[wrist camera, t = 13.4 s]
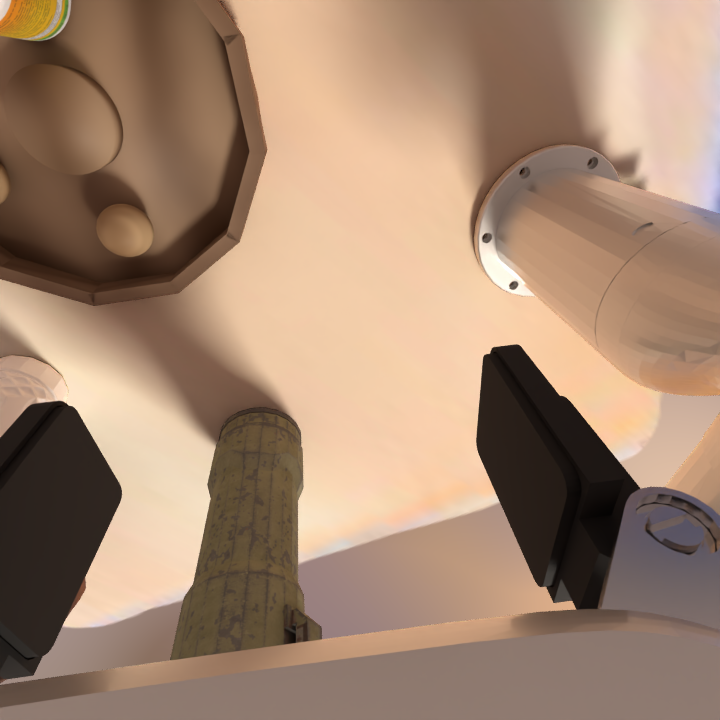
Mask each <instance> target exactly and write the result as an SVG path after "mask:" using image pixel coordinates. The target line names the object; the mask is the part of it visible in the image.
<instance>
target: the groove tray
mask: <svg viewBox="0 0 720 720" xmlns="http://www.w3.org/2000/svg"><path fill="white" fill-rule="evenodd" d="M266 152H267V146H266V141H265V136H264V132H263V127H262V122H261V115H260V109H259V102H258V96H257V92H256V88H255V84H254V80H253V77H252V73H251V69H250V64H249V59H248V54H247V49H246V45H245V40H244V36H243V35H242V33H241V32H240V31H239V29H238V28H237V26H236V25H235V23H234V22H233V21H232V19H231V18H230V16H229V15H228V14H227V12H226V11H225V9H224V8H223V7H222V5H221V4H220V2H219V1H218V0H71V10H70V16H69V19H68V22H67V23H66V25H65V27H64V28H63V30H62V31H61V32H60V33H59V34H57V35H56V36H54V37H52V38H50V39H47V40H43V41H30V40H23V39H17V38H11V37H5V36H0V164H1V165H2V166H3V167H4V168H5V170H6V172H7V173H8V175H9V178H10V182H11V190H10V193H9V195H8V197H7V199H6V200H5V201H4V202H3V203H1V204H0V279H2V280H6V281H9V282H13V283H16V284H20V285H23V286H27V287H30V288H34V289H37V290H41V291H44V292H48V293H51V294H55V295H58V296H62V297H65V298H69V299H72V300H76V301H79V302H82V303H86V304H89V305H93V306H97V305H103V304H110V303H117V302H123V301H130V300H137V299H143V298H150V297H157V296H163V295H170V294H177V293H179V292H181V291H182V290H183V289H184V288H185V287H187V286H188V285H189V284H190V283H191V282H192V281H194V280H195V279H196V278H197V277H198V276H200V275H201V274H202V273H203V272H204V271H206V270H207V269H208V268H209V267H210V266H212V265H213V264H214V263H215V262H216V261H218V260H219V259H220V258H221V257H222V256H223V255H225V254H226V253H227V252H228V251H229V250H231V249H232V248H233V247H234V246H235V245H237V244H238V243H239V242H240V239H241V236H242V233H243V230H244V227H245V223H246V220H247V216H248V213H249V210H250V206H251V203H252V200H253V196H254V193H255V190H256V186H257V183H258V179H259V176H260V173H261V169H262V166H263V162H264V159H265V156H266ZM115 204H128V205H131V206H134V207H136V208H138V209H140V210H141V211H142V212H144V213H145V214H146V215H147V216H148V218H149V219H150V221H151V223H152V225H153V229H154V239H153V242H152V245H151V246H150V248H149V249H148V250H147V251H146V252H144V253H143V254H141V255H138V256H134V257H125V256H120V255H117V254H115V253H113V252H111V251H110V250H108V249H107V248H106V247H105V246H104V245H103V244H102V242H101V241H100V239H99V237H98V235H97V231H96V223H97V219H98V217H99V215H100V213H101V212H102V211H103V210H104V209H106V208H107V207H109V206H111V205H115Z"/></svg>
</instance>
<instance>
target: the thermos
mask: <svg viewBox="0 0 720 720" xmlns="http://www.w3.org/2000/svg"><path fill="white" fill-rule="evenodd" d="M207 485H208V489H209V493H210V497H211V500H210V505H209V510H208V514H207V519H206V524H205V529H204V534H203V539H202V544H201V549H200V553H199V558H198V563H197V568H196V573H195V578H194V583H193V585H192V586H191V588H190V589H189V591H188V592H187V594H186V595H185V597H184V600H183V604H182V608H181V613H180V617H179V622H178V626H177V631H176V635H175V640H174V644H173V649H172V654H171V658H170V661H171V660H178V659H185V658H192V657H199V656H206V655H213V654H221V653H228V652H235V651H242V650H249V649H257V648H264V647H271V646H278V645H286V644H293V643H300V642H307V641H315V640H322V628H321V626H320V625H318V624H317V623H316V622H315V621H314V620H312V619H311V618H310V617H309V616H307V615H306V614H305V613H304V594H303V592H302V590H301V588H300V586H299V584H298V499H299V497H300V495H301V492H302V490H303V451H302V447H301V431H300V429H299V427H298V426H297V424H296V422H295V421H294V420H292V419H291V418H290V417H289V416H288V415H286V414H284V413H282V412H280V411H278V410H273V409H268V408H251V409H247V410H244V411H241V412H238V413H236V414H235V415H233V416H232V417H230V418H229V419H228V420H227V421H226V423H225V424H224V425H223V426H222V429H221V433H220V437H219V442H218V443H217V445H216V449H215V453H214V457H213V462H212V466H211V471H210V475H209V480H208V484H207Z"/></svg>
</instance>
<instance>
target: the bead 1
mask: <svg viewBox="0 0 720 720" xmlns="http://www.w3.org/2000/svg"><path fill="white" fill-rule="evenodd" d="M10 190H11V182H10V178H9V175H8V173H7V172H6V170H5V168H4V167H3V166H2V165H1V164H0V204H1V203H3V202H4V201H5V200H6V199H7V197H8V195H9V193H10Z"/></svg>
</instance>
